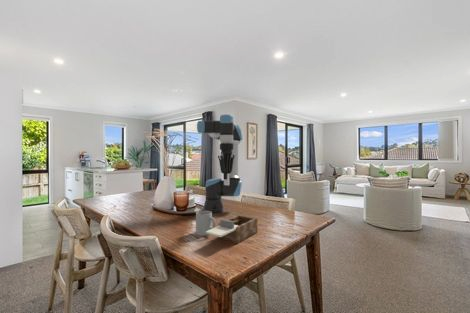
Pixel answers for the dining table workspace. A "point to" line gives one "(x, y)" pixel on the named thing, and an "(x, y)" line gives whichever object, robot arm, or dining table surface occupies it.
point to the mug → (204, 222)
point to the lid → (223, 228)
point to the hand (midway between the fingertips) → (226, 184)
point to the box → (241, 229)
